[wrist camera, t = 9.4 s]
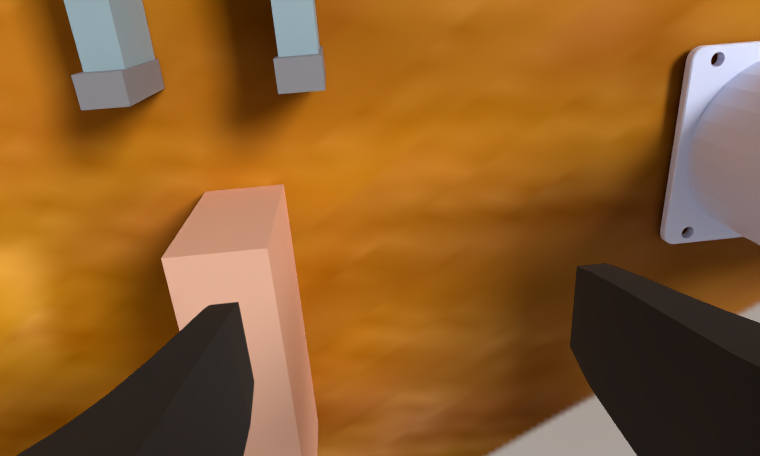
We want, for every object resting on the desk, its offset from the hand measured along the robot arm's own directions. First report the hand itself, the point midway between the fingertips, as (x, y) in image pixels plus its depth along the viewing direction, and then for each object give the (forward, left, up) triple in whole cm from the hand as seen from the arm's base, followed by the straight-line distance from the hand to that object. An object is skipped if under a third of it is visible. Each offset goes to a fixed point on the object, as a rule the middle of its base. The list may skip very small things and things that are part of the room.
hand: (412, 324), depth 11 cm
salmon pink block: (+5, +6, -11) cm, 13 cm away
